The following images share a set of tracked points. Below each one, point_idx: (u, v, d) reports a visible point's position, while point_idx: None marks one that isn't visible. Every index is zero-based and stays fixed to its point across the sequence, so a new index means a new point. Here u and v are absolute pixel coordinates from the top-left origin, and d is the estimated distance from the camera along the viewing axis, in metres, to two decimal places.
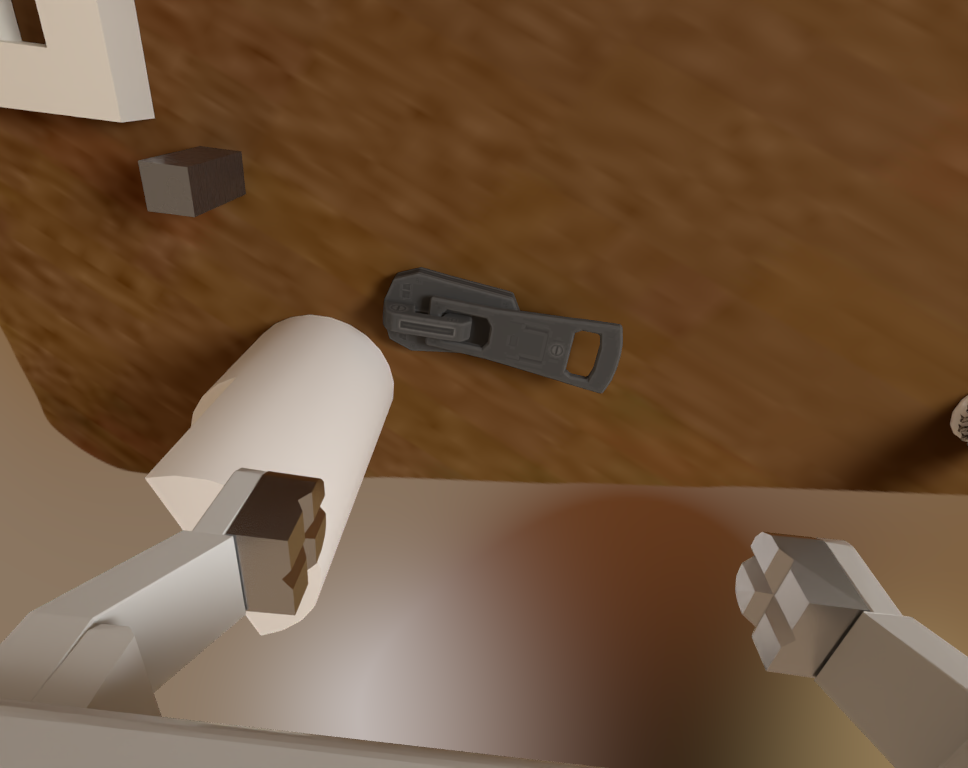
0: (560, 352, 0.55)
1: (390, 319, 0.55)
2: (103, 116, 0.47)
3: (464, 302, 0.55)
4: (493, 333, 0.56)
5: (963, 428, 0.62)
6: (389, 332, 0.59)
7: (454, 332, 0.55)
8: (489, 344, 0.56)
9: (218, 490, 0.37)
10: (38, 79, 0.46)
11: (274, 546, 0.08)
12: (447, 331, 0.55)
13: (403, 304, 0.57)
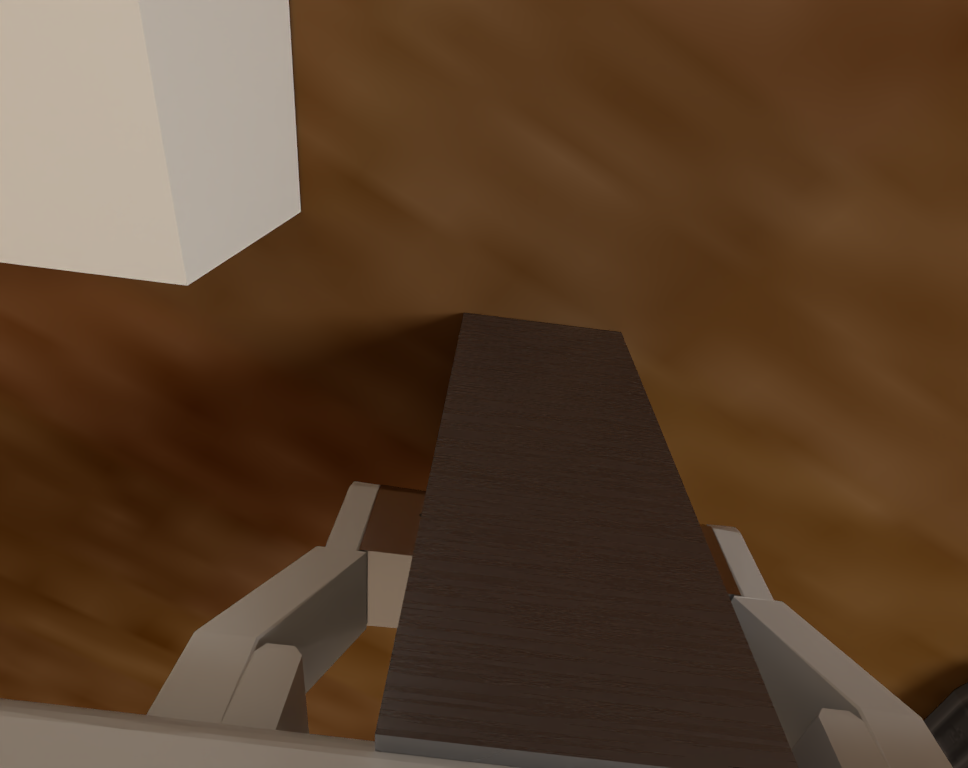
0: None
1: None
2: (83, 254, 0.08)
3: None
4: None
5: None
6: None
7: None
8: None
9: None
10: None
11: (405, 562, 0.08)
12: None
13: None
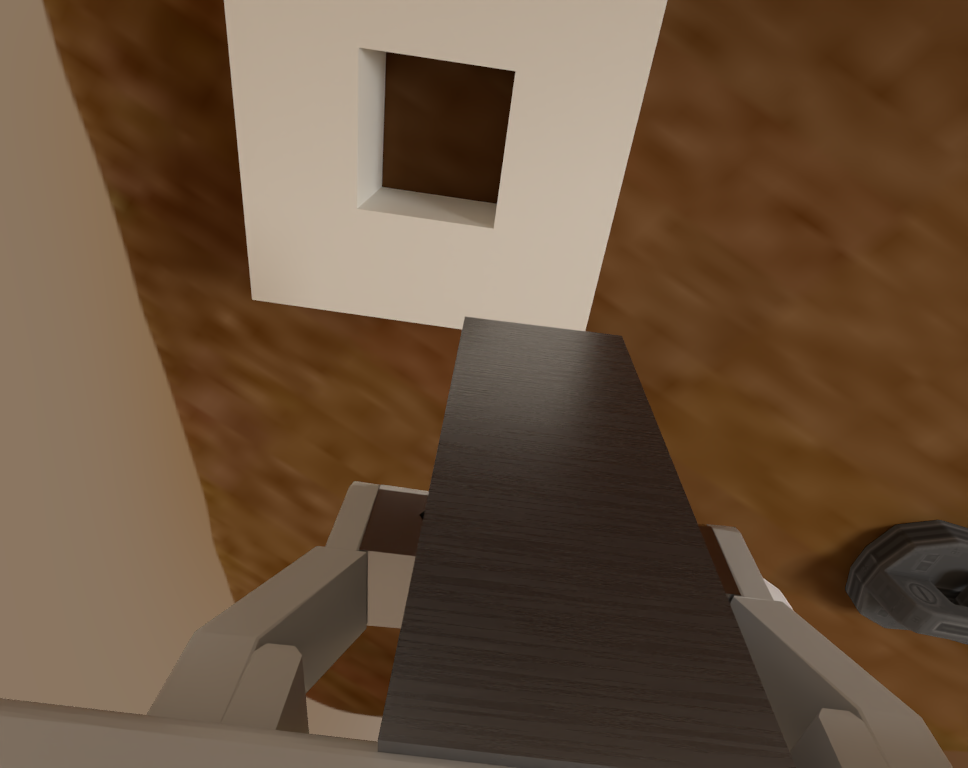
0: None
1: (922, 618, 0.35)
2: None
3: None
4: None
5: None
6: (865, 607, 0.39)
7: None
8: None
9: None
10: (455, 277, 0.25)
11: (405, 562, 0.08)
12: None
13: (918, 581, 0.36)
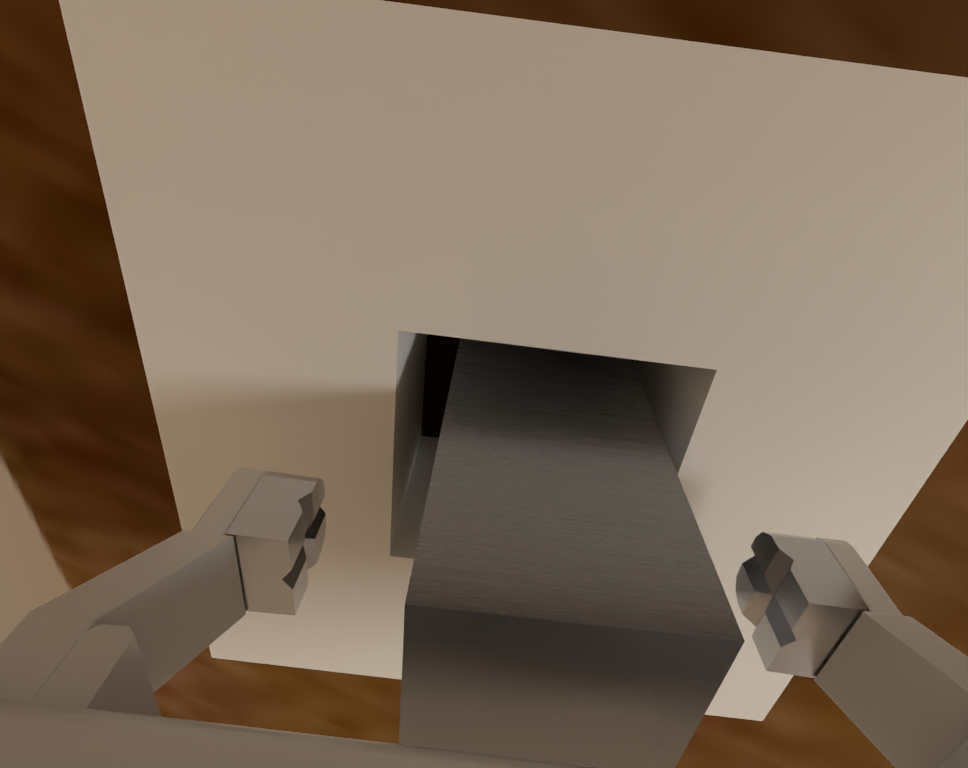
0: None
1: None
2: (715, 710, 0.15)
3: None
4: None
5: None
6: None
7: None
8: None
9: None
10: None
11: (274, 546, 0.08)
12: None
13: None
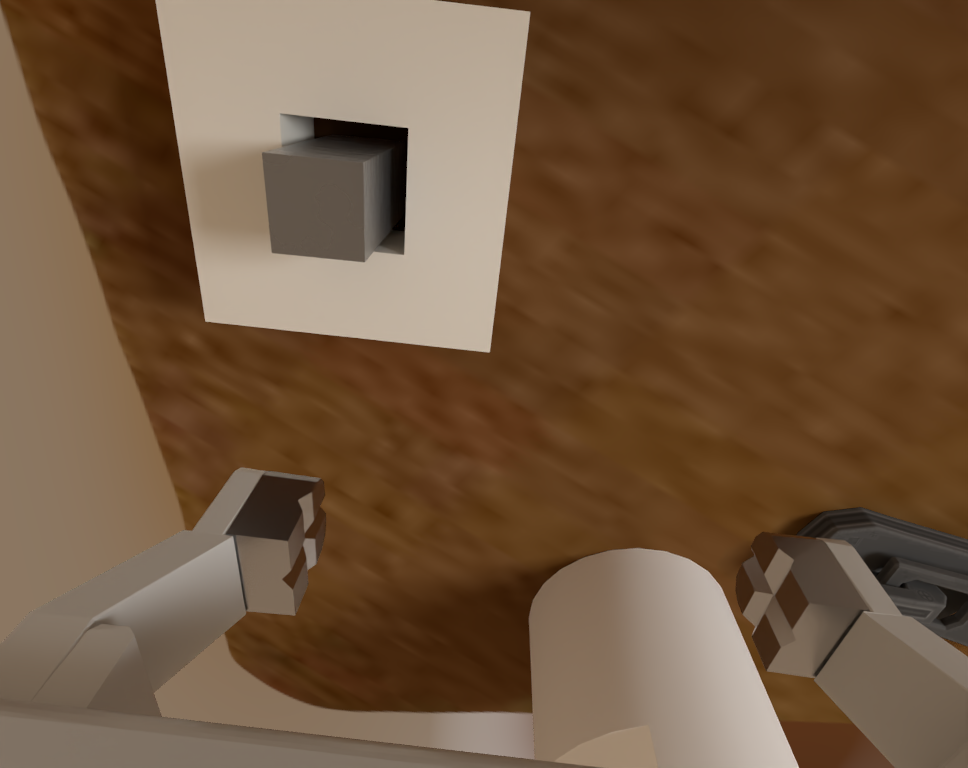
0: None
1: None
2: (463, 344, 0.30)
3: (944, 572, 0.39)
4: None
5: None
6: None
7: (929, 614, 0.39)
8: (962, 625, 0.40)
9: None
10: (376, 297, 0.29)
11: (274, 546, 0.08)
12: (920, 613, 0.39)
13: None
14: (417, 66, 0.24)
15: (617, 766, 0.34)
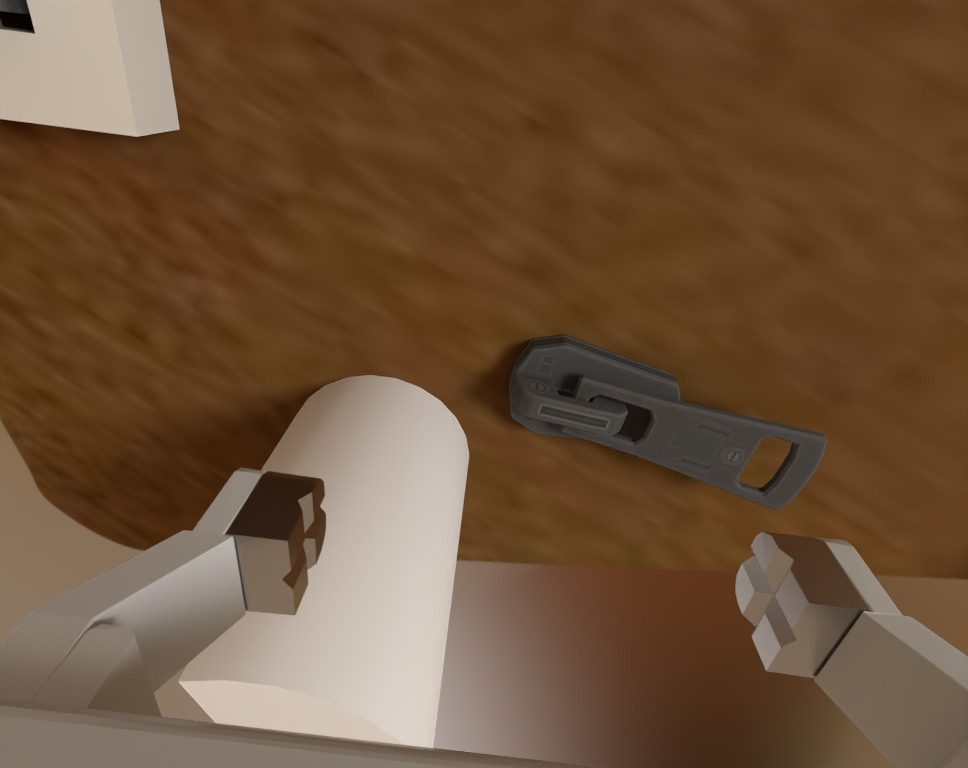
0: (738, 459, 0.44)
1: (528, 402, 0.43)
2: (112, 128, 0.34)
3: (623, 387, 0.43)
4: (654, 428, 0.44)
5: None
6: (513, 410, 0.47)
7: (607, 424, 0.43)
8: (645, 440, 0.45)
9: (289, 698, 0.25)
10: (23, 78, 0.33)
11: (274, 546, 0.08)
12: (599, 422, 0.43)
13: (540, 381, 0.45)
14: None
15: None
